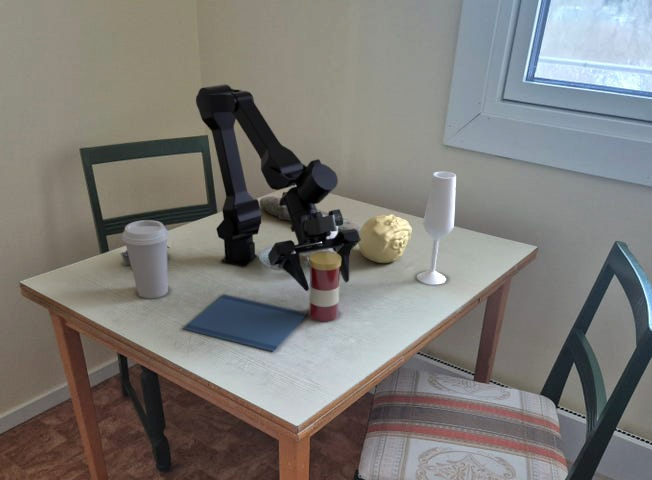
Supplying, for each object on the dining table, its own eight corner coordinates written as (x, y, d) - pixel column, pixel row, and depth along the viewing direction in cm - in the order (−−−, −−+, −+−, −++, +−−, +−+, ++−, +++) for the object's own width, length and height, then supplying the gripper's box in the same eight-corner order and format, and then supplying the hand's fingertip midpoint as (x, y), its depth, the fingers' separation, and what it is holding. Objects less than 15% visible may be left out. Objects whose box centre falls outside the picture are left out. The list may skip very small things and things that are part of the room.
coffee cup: (182, 286, 144) (176, 222, 136) (161, 304, 136) (152, 238, 128) (145, 279, 146) (136, 216, 138) (122, 297, 139) (111, 232, 131)
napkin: (183, 329, 128) (183, 327, 128) (223, 295, 140) (223, 294, 140) (273, 351, 121) (273, 350, 121) (307, 314, 133) (307, 313, 133)
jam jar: (303, 318, 132) (303, 260, 125) (315, 304, 137) (316, 248, 130) (332, 324, 130) (334, 266, 123) (343, 310, 135) (346, 254, 128)
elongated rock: (345, 249, 165) (368, 240, 172) (347, 229, 162) (370, 221, 169) (249, 209, 183) (274, 202, 190) (250, 191, 180) (275, 185, 187)
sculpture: (383, 272, 151) (387, 228, 145) (348, 256, 158) (350, 214, 152) (415, 259, 157) (420, 217, 151) (379, 244, 165) (383, 203, 159)
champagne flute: (440, 287, 145) (455, 181, 131) (412, 280, 147) (424, 176, 134) (450, 275, 149) (465, 173, 136) (422, 269, 152) (435, 168, 139)
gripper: (272, 203, 120) (297, 280, 118) (359, 189, 127) (384, 262, 125) (257, 229, 130) (280, 300, 128) (338, 215, 137) (361, 282, 135)
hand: (327, 286), depth 129 cm, fingers open, 9 cm apart
